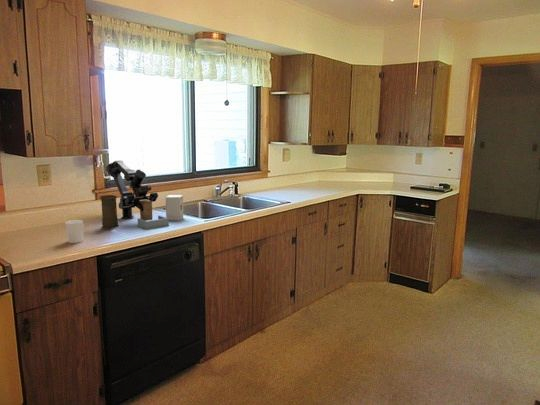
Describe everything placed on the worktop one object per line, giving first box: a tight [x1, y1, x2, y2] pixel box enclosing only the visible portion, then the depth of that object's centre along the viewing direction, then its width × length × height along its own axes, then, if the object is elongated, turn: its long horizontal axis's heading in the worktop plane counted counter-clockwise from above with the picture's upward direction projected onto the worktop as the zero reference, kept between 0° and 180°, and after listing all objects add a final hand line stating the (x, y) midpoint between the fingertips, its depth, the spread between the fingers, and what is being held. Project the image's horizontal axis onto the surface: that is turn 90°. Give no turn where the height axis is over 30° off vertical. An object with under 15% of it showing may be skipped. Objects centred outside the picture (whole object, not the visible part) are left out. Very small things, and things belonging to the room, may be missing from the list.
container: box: [99, 194, 120, 230], centre depth 226 cm, size 9×9×18 cm
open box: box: [137, 215, 170, 230], centre depth 230 cm, size 10×14×5 cm
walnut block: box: [139, 200, 153, 221], centre depth 234 cm, size 5×5×11 cm
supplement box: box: [165, 194, 184, 221], centre depth 247 cm, size 9×9×15 cm
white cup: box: [65, 219, 84, 244], centre depth 199 cm, size 8×8×10 cm
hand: (147, 210), depth 233 cm, fingers closed on walnut block, 5 cm apart
